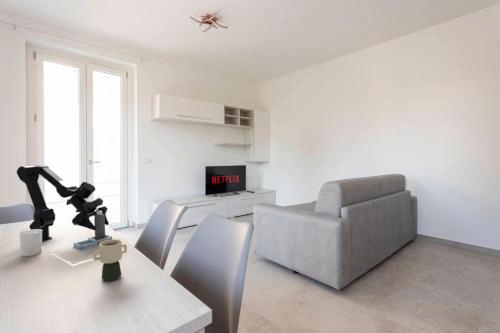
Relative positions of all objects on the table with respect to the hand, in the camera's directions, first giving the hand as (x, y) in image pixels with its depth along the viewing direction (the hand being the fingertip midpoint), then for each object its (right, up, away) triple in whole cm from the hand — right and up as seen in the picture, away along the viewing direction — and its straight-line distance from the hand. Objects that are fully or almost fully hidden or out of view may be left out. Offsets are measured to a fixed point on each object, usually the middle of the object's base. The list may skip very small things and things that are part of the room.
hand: (102, 227), depth 132 cm
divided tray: (-3, -8, -3) cm, 9 cm away
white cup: (-23, -9, -15) cm, 29 cm away
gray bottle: (-1, -7, +1) cm, 7 cm away
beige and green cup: (+25, -10, -38) cm, 47 cm away
